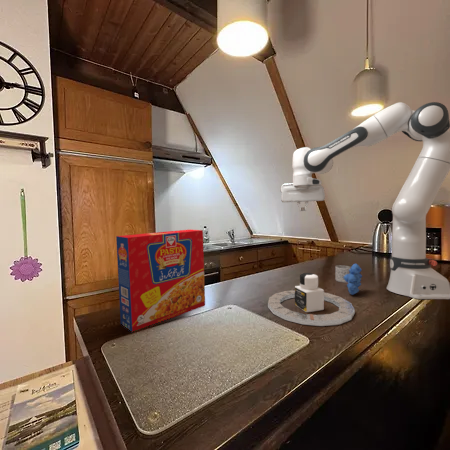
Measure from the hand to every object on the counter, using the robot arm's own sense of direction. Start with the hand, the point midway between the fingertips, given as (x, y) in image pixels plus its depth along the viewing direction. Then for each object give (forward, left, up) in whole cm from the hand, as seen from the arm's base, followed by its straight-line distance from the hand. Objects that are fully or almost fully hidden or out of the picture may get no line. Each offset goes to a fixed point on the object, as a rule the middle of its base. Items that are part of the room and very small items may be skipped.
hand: (302, 211), depth 122 cm
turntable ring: (0, +37, -34) cm, 50 cm away
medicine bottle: (0, +37, -34) cm, 50 cm away
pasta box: (+47, +52, -34) cm, 78 cm away
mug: (-18, -2, -34) cm, 38 cm away
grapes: (-18, +18, -34) cm, 42 cm away
